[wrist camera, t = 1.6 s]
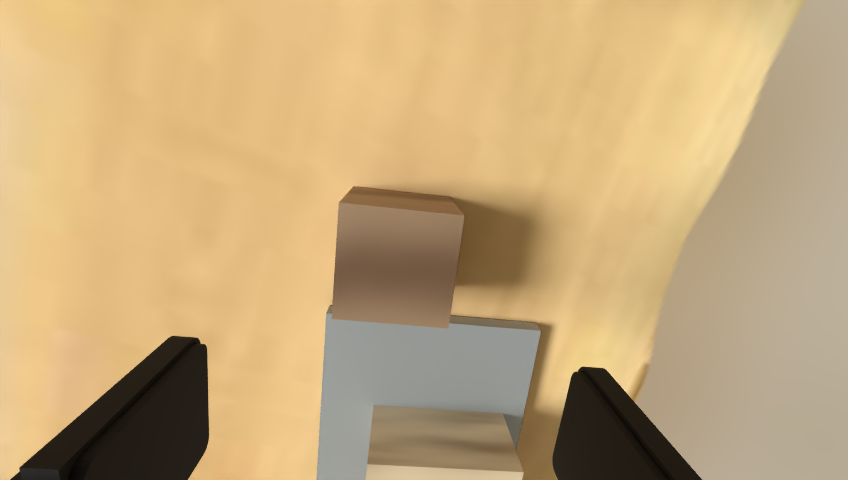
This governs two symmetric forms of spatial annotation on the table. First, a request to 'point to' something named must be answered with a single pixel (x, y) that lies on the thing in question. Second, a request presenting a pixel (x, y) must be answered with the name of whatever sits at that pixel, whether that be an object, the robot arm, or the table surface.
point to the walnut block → (396, 257)
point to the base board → (417, 378)
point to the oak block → (440, 445)
